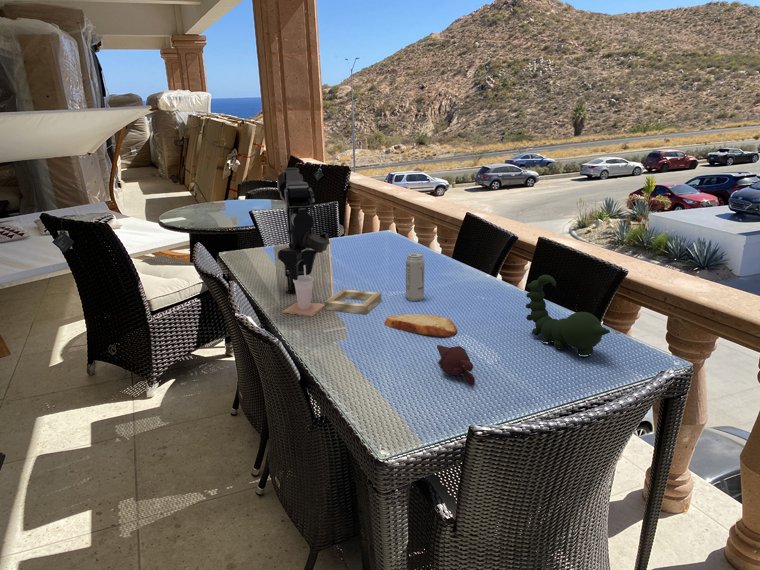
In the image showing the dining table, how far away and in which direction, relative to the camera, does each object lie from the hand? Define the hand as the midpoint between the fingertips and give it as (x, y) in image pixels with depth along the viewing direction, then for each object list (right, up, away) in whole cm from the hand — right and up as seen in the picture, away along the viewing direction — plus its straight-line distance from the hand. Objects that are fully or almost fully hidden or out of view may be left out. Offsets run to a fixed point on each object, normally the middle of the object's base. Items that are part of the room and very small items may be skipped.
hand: (302, 275), depth 163 cm
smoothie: (0, -10, +3) cm, 11 cm away
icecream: (+41, -24, -39) cm, 61 cm away
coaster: (0, -11, +3) cm, 11 cm away
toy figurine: (+72, -19, -25) cm, 78 cm away
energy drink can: (+35, -7, +13) cm, 38 cm away
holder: (+15, -9, +7) cm, 19 cm away
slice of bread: (+35, -16, -12) cm, 41 cm away
